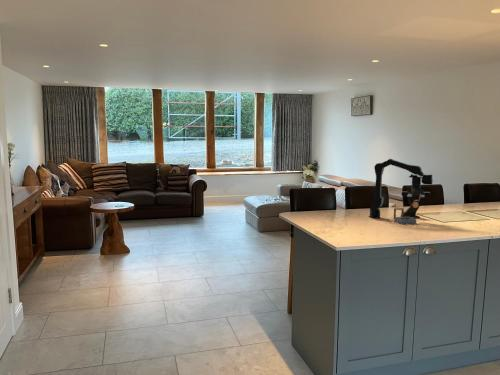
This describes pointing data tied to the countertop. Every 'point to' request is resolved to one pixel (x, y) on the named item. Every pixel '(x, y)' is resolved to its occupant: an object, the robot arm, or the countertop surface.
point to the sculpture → (412, 211)
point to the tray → (405, 220)
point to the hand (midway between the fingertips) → (415, 206)
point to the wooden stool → (398, 209)
